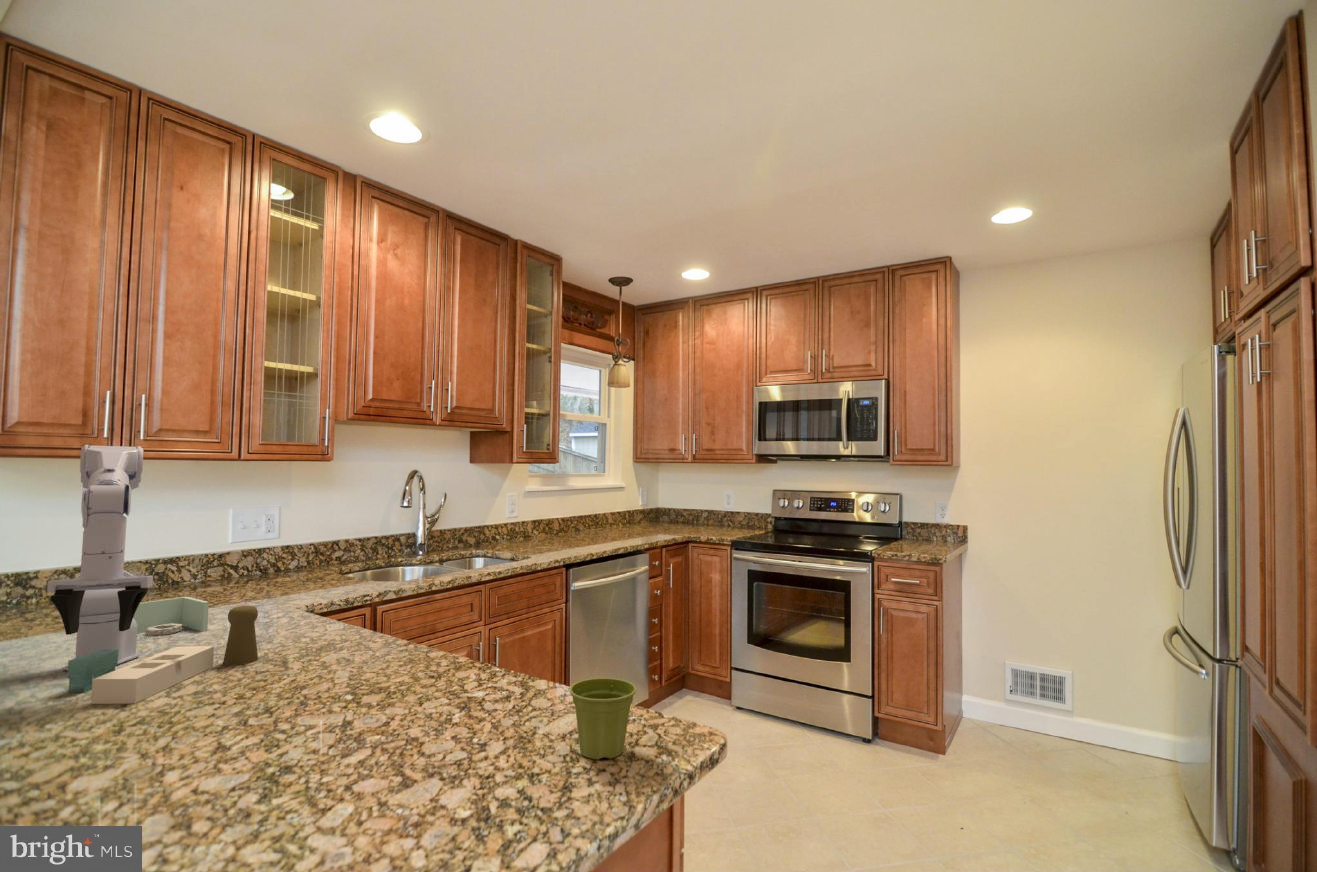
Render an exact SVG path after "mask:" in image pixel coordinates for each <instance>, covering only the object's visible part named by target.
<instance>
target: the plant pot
mask: <svg viewBox="0 0 1317 872" xmlns="http://www.w3.org/2000/svg"><path fill="white" fill-rule="evenodd" d="M568 692H569V694H570V696H572V701H573V704H574V708H575V717H576V725H577V735H578V743H579V744H578V746H579V751H580V754H581V755H582V756H583V757H586V758H589V759H592V760H600V759H602V758H608V759H613V758H616V757H618V756H620V755H622V753H623V752H624V750H625V749H624V748H625V742H626V736H627V730H628V722H629V718H630V717H629V716H630V711H631V704H632V703H633V701H634V695H635V694H636V693H637V686H636V684H635V683H632V682H630V681H628V680H626V679H622V678H621V679H620V678H615V677H613V678H612V677H595V678H588V679H587V678H586V679H583V680H579V681H576V682H574V683H572V684H571V685H570V687H569V691H568Z"/></svg>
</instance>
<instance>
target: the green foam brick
mask: <svg viewBox="0 0 1317 872" xmlns="http://www.w3.org/2000/svg"><path fill="white" fill-rule="evenodd" d="M117 663H118V650H99V651H96V652H93V653H90V654H87V655H84V656H81V657H78V658H73V659H70V660H68V663H67V666H68V670H67V673H66V675H67V676H66V678H67V679H68V691H67V692H68V693H69V694H70V693H72V694H73V693H74V694H75V693H76V694H77V693H86V692H90V691H92V682H93V679H94V678H97V677H100V676H102V675H105V674H107V673H110V672H113V671H115V670H116V667H118V665H117Z"/></svg>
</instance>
